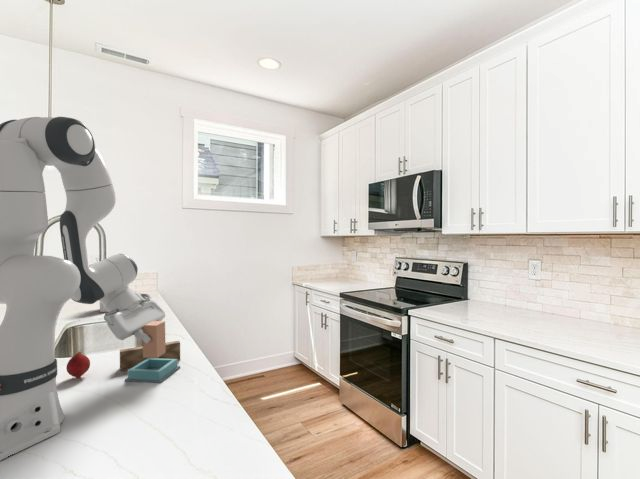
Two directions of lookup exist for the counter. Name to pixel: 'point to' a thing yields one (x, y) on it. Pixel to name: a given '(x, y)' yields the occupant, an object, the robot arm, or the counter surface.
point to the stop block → (154, 339)
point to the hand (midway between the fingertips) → (155, 338)
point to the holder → (152, 370)
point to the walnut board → (135, 357)
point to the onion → (78, 365)
